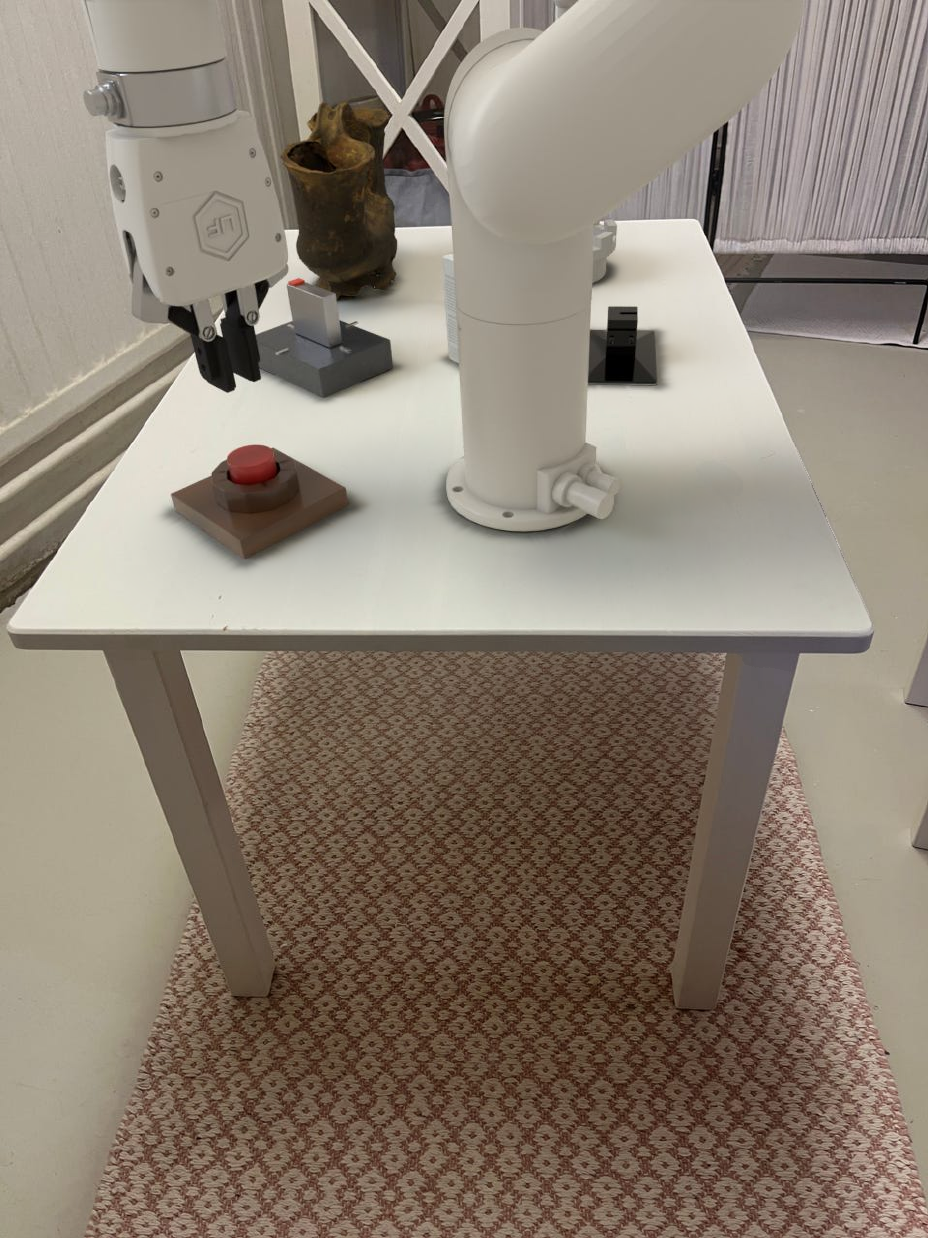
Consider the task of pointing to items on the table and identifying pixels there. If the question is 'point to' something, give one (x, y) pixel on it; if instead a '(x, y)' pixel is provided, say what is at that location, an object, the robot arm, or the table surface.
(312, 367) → the dial switch base
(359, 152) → the pottery vessel
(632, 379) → the black stand
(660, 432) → the table surface
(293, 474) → the button block
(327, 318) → the grey rectangular block
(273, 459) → the button
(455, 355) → the small box
